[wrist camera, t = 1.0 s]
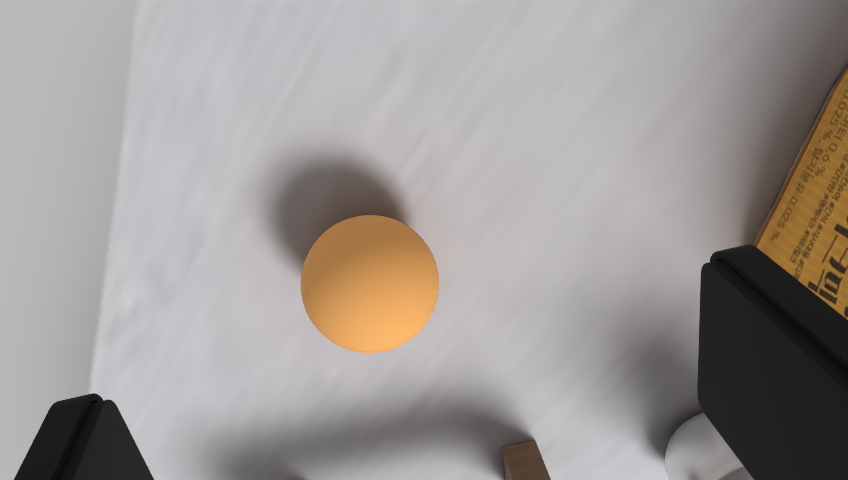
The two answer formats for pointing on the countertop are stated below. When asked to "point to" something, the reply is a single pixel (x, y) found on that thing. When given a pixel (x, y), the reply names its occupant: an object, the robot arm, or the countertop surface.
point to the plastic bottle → (701, 454)
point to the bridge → (524, 462)
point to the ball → (369, 283)
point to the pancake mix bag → (816, 207)
